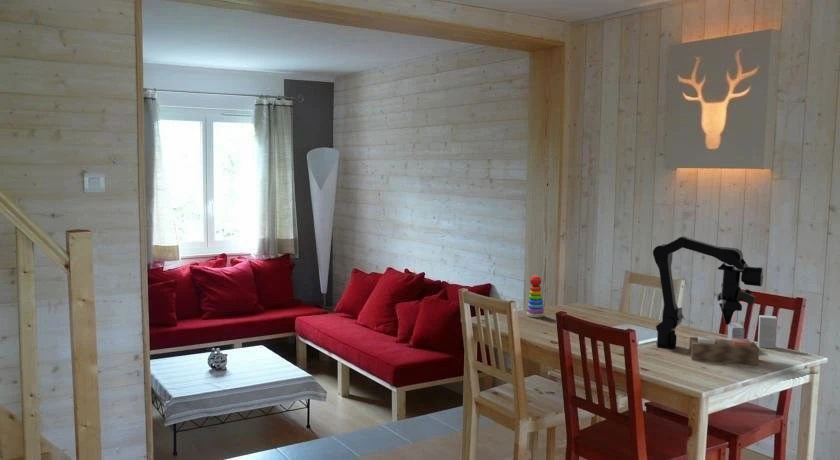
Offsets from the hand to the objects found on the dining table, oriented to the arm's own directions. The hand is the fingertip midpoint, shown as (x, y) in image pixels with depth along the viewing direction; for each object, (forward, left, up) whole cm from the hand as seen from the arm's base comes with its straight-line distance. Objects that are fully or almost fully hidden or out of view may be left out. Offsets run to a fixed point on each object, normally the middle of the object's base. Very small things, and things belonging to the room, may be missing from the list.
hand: (727, 324), depth 261 cm
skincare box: (+17, +19, -12) cm, 28 cm away
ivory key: (-8, -5, -8) cm, 12 cm away
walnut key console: (-2, -5, -12) cm, 13 cm away
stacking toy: (-75, +43, -12) cm, 87 cm away
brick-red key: (+4, -5, -8) cm, 11 cm away
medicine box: (+5, +14, -12) cm, 19 cm away
